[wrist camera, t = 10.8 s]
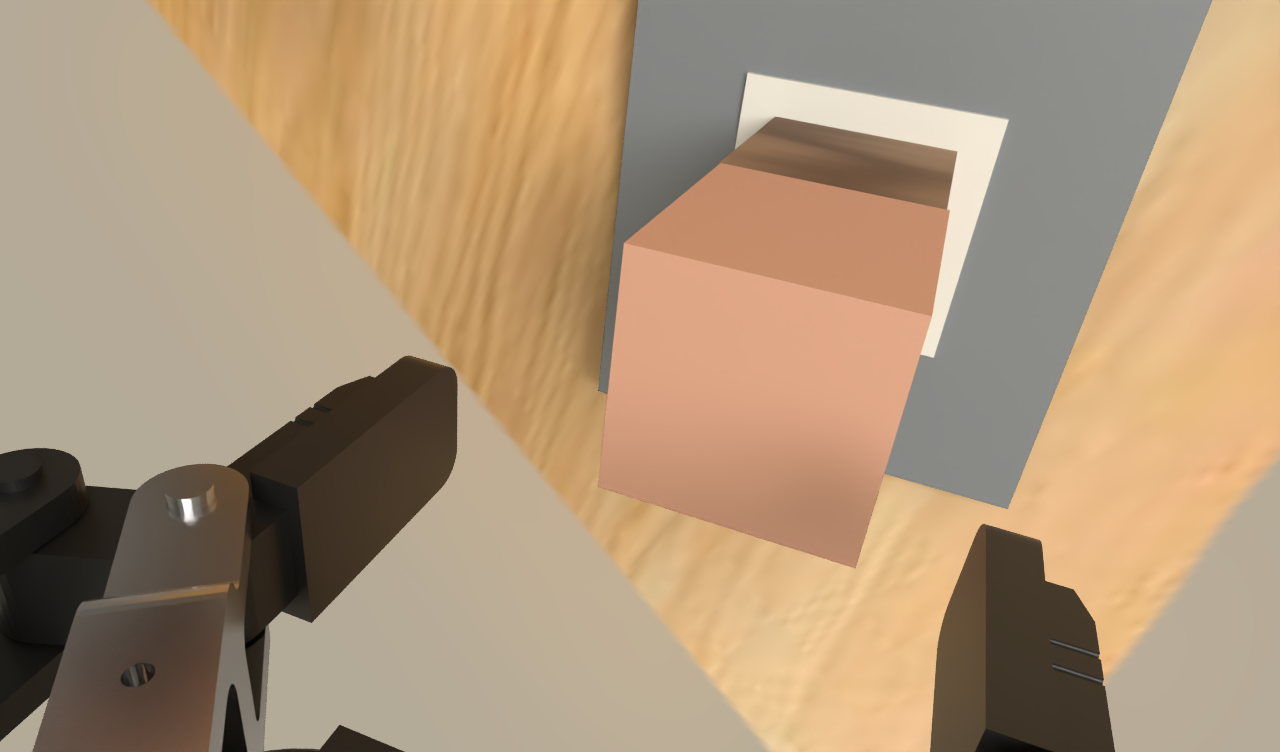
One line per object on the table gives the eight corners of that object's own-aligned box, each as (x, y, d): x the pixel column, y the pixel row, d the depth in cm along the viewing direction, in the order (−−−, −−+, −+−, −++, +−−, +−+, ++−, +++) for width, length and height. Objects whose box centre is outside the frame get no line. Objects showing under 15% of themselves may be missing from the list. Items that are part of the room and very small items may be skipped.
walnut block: (745, 279, 27) (686, 359, 22) (775, 116, 24) (718, 163, 19) (908, 319, 26) (886, 413, 21) (957, 151, 23) (946, 211, 18)
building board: (610, 376, 32) (595, 393, 31) (666, -125, 24) (648, -127, 23) (1007, 488, 28) (1007, 512, 27) (1222, -56, 20) (1236, -55, 19)
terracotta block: (689, 359, 22) (598, 486, 17) (720, 163, 19) (623, 242, 14) (889, 413, 20) (855, 568, 15) (950, 210, 18) (932, 316, 13)
